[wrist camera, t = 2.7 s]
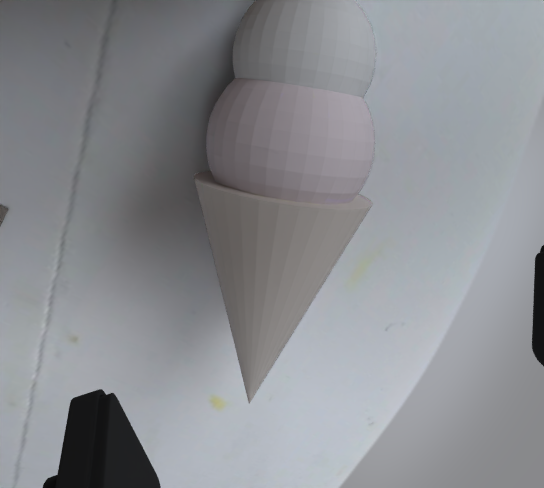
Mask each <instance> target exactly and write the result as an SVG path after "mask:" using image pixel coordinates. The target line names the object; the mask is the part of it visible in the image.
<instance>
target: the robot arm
mask: <svg viewBox="0 0 544 488" xmlns="http://www.w3.org/2000/svg"><path fill="white" fill-rule="evenodd" d="M533 307H534V308H533V334H532V349H533V352H534V354H535V356H536V358H537V360H538V361H539V362H540V363H541V364H542V365H543V366H544V245H543V246H542V248H541V251H540V253H538V254H537V255H536V258H535V279H534V306H533ZM43 488H161V487H160V483H159V479H158V477H157V474H156V472H155V471H154V469H153V467H152V465H151V463H150V461H149V459H148V457H147V455H146V453H145V451H144V449H143V447H142V445H141V443H140V441H139V440H138V438H137V436H136V434H135V432H134V430H133V428H132V426H131V424H130V422H129V420H128V418H127V416H126V414H125V412H124V411H123V409H122V407H121V405H120V403H119V401H118V399H117V397H116V396H115V394H114V393H111V394H108V395H106V394H105V392H104V391H103V390H100V389H99V390H96V391H93V392H90V393H87V394H84V395H81V396H78V397H75V398H73V399H72V400H71V403H70V407H69V413H68V419H67V424H66V430H65V436H64V442H63V447H62V453H61V459H60V464H59V470H58V475H56V476H53V477H50V478H48V479H47V480H46V481H45V483H44V485H43Z"/></svg>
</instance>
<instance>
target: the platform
mask: <svg viewBox="0 0 544 488" xmlns="http://www.w3.org/2000/svg"><path fill="white" fill-rule="evenodd" d="M7 211H8V209H7V208H5V207H2V206H0V226H1V224H2V221H3V219H4V217H5V215H6V213H7Z"/></svg>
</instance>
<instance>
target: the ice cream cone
mask: <svg viewBox="0 0 544 488" xmlns="http://www.w3.org/2000/svg"><path fill="white" fill-rule="evenodd" d="M375 63H376V44H375V37H374V33H373V30H372V27H371V24H370V22H369V20H368V18H367V16H366V14H365V12H364V11H363V9H362V8H361V7H360V6H359V4H358V3H357V2H356V1H355V0H256V1H255V2H254V3H253V4H252V5H251V6H250V8H249V9H248V10H247V12H246V13H245V15H244V16H243V18H242V20H241V22H240V25H239V27H238V29H237V32H236V36H235V40H234V45H233V68H234V74H235V79H234V80H233V81H232V82H231V83H230V84H229V85H228V86H227V87H226V88H225V90H224V91H223V92H222V94H221V95H220V97H219V98H218V100H217V102H216V104H215V106H214V109H213V111H212V113H211V115H210V119H209V124H208V129H207V136H206V151H207V157H208V163H209V167H210V170H211V171H204V172H199V173H196V174H195V175H194V179H195V183H196V187H197V192H198V196H199V200H200V204H201V208H202V212H203V216H204V220H205V225H206V229H207V233H208V237H209V241H210V245H211V249H212V253H213V257H214V262H215V266H216V270H217V274H218V278H219V282H220V286H221V290H222V294H223V299H224V303H225V307H226V311H227V315H228V319H229V323H230V327H231V331H232V336H233V340H234V344H235V348H236V352H237V356H238V360H239V364H240V368H241V373H242V377H243V381H244V385H245V389H246V393H247V397H248V401H249V403H250V402H251V400H252V398H253V397H254V395H255V393H256V392H257V390H258V389H259V387H260V385H261V384H262V382H263V381H264V379H265V377H266V376H267V374H268V372H269V371H270V369H271V368H272V366H273V364H274V363H275V361H276V360H277V358H278V356H279V355H280V353H281V351H282V350H283V348H284V347H285V345H286V343H287V342H288V340H289V338H290V337H291V335H292V334H293V332H294V330H295V329H296V327H297V326H298V324H299V322H300V321H301V319H302V317H303V316H304V314H305V313H306V311H307V309H308V308H309V306H310V305H311V303H312V301H313V300H314V298H315V296H316V295H317V293H318V292H319V290H320V288H321V287H322V285H323V284H324V282H325V280H326V279H327V277H328V275H329V274H330V272H331V271H332V269H333V267H334V266H335V264H336V263H337V261H338V259H339V258H340V256H341V254H342V253H343V251H344V250H345V248H346V246H347V245H348V243H349V242H350V240H351V238H352V237H353V235H354V233H355V232H356V230H357V229H358V227H359V225H360V224H361V222H362V221H363V219H364V217H365V216H366V214H367V212H368V211H369V209H370V208H371V206H372V202H371V201H370V200H369V199H367V198H365V197H363V196H361V195H359V194H358V193H359V192H360V191H361V189H362V187H363V185H364V183H365V181H366V179H367V178H368V176H369V172H370V169H371V166H372V163H373V159H374V149H375V135H374V125H373V121H372V118H371V115H370V112H369V108H368V106H367V104H366V103H365V101H364V99H363V98H364V96H365V94H366V92H367V90H368V88H369V86H370V84H371V81H372V77H373V74H374V70H375Z"/></svg>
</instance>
